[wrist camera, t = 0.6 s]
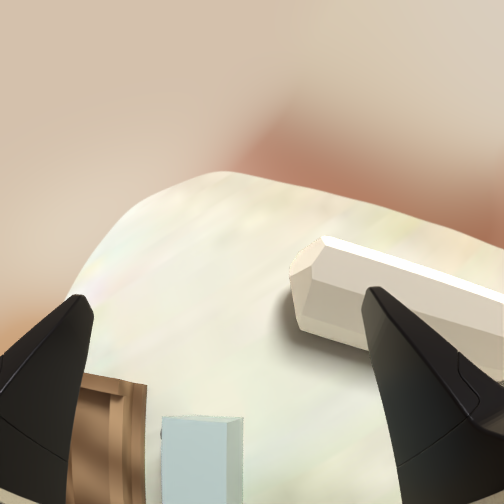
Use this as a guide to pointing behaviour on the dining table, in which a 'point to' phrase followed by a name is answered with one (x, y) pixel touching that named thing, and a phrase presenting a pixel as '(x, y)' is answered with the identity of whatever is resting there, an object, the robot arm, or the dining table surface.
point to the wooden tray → (108, 443)
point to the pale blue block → (202, 460)
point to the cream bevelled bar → (403, 289)
